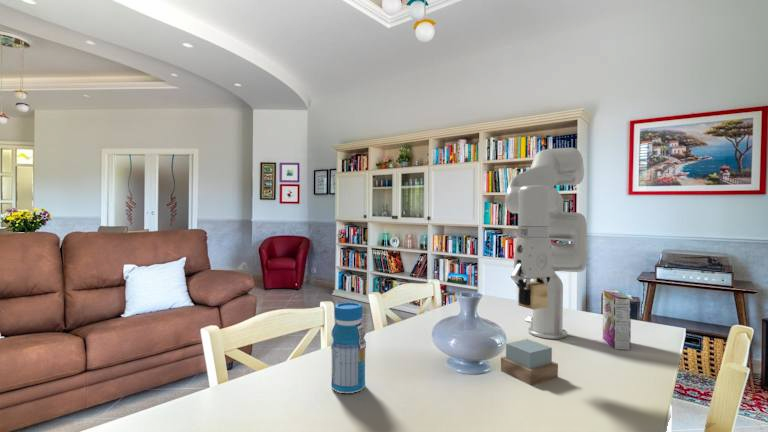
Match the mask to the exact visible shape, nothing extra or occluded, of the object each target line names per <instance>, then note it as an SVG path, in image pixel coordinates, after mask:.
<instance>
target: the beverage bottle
mask: <svg viewBox="0 0 768 432" xmlns="http://www.w3.org/2000/svg"><path fill="white" fill-rule="evenodd" d="M363 310H364V309H363V305H362V304H361V303H358V302H352V301H351V302H350V301H349V302H339V303H337V304H335V306H334V320H335V321H336V322H335V324H334V325H333V327H332V329H331V337H332V340H331V342H330V349H331V351H330V352H331V388H332V390H333V391H334V390H335V391H338V392H341V393H354V392H357V393H359V392H358V391H360V390H361V391H363V390H364V389H365V386H366V347H367V342H366V339H365V336H366V330H365V326H364V325H363V323H362V322H361V321H362V319H363ZM363 388H364V389H363ZM362 389H363V390H362ZM335 391H334V392H335ZM361 391H360V392H361ZM338 392H337V393H338ZM341 393H340V394H341ZM354 394H355V393H354Z"/></svg>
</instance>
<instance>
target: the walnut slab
mask: <svg viewBox="0 0 768 432" xmlns="http://www.w3.org/2000/svg"><path fill="white" fill-rule="evenodd" d="M500 372H502V373H504V374H506V375H508V376H510V377H512V378H514V379H515V380H516V379H517V380H518V381H521V382H523V383H524V384H527V385H529V386H534V385H537V384H541V383H543V382H547V381H551V380H554V379H556V378H558V377H559V363H557V362H554V361H552V363H550V364H546V365H543V366H539V367H535V368H532V369H529V368H527V367H524V366H522V365H520V364H517V363H515V362H513V361H510V360H508V359H506V356H503V357H501V358H500Z"/></svg>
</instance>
